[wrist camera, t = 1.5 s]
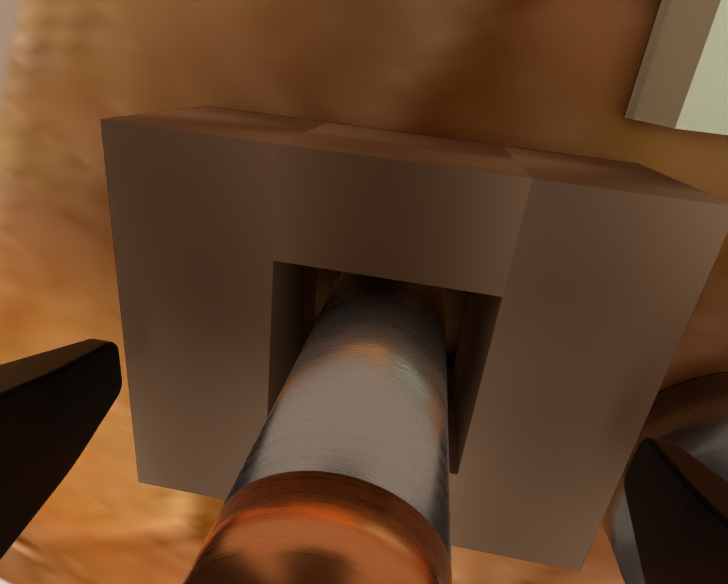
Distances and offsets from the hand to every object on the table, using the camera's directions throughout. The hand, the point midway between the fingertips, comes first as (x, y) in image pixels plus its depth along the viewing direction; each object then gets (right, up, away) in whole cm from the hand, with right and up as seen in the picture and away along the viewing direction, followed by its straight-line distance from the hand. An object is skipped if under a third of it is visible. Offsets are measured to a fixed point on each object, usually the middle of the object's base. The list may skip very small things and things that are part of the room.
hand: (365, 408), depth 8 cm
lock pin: (+1, +2, +5) cm, 5 cm away
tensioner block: (+1, +2, +5) cm, 5 cm away
